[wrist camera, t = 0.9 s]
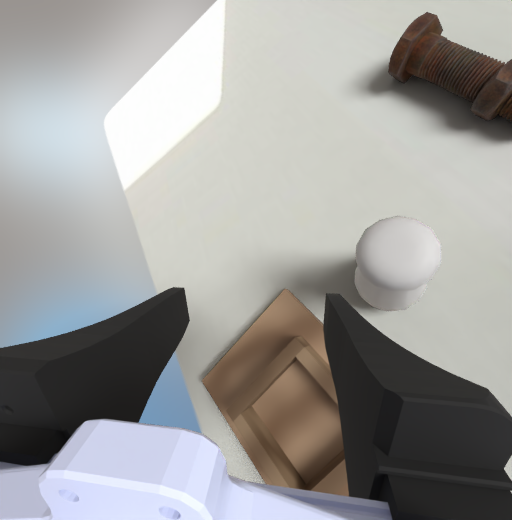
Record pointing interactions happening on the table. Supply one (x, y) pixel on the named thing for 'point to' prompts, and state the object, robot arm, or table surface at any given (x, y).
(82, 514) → the robot arm
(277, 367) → the socket board
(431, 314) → the table surface
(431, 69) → the bolt
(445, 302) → the table surface
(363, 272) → the salt shaker
